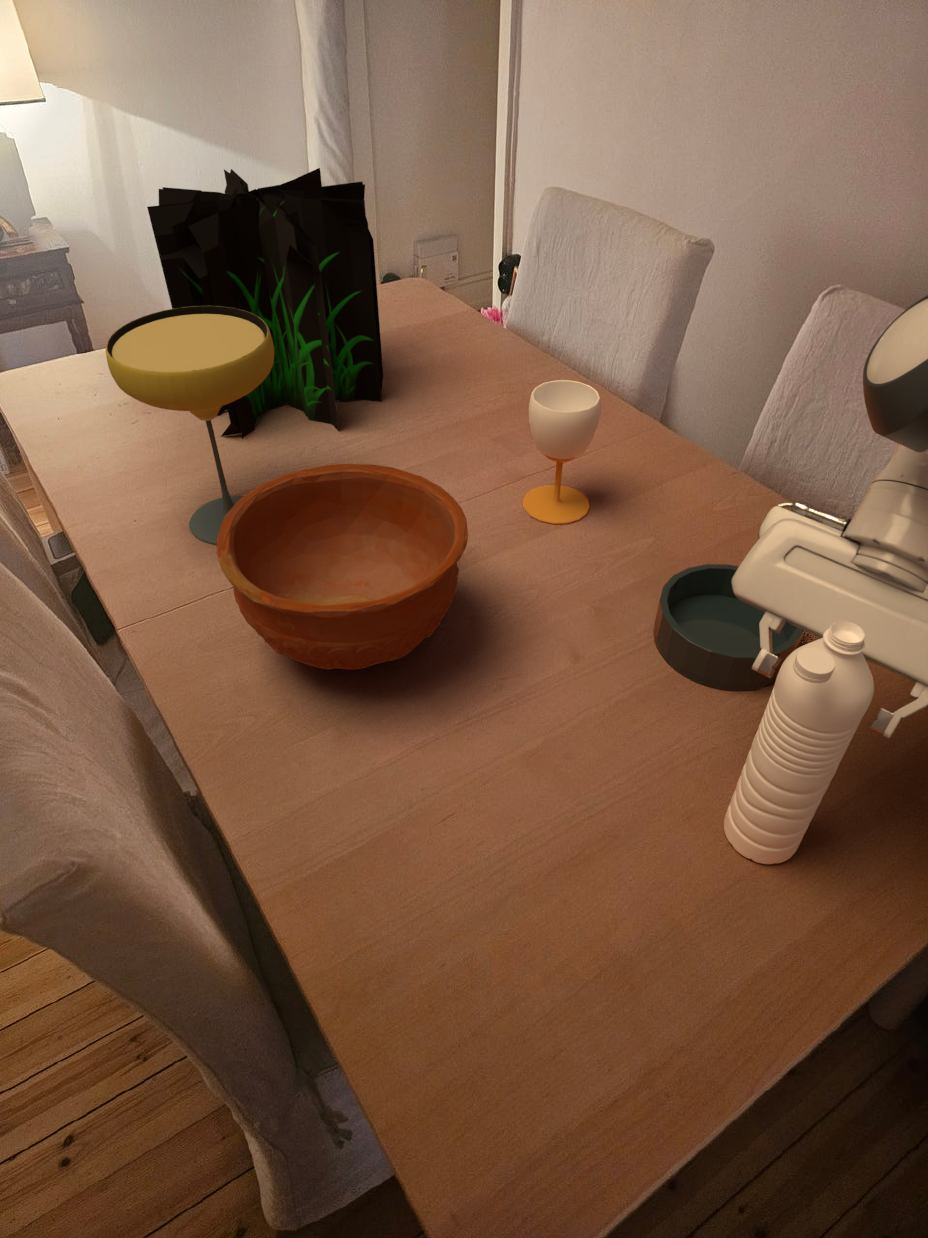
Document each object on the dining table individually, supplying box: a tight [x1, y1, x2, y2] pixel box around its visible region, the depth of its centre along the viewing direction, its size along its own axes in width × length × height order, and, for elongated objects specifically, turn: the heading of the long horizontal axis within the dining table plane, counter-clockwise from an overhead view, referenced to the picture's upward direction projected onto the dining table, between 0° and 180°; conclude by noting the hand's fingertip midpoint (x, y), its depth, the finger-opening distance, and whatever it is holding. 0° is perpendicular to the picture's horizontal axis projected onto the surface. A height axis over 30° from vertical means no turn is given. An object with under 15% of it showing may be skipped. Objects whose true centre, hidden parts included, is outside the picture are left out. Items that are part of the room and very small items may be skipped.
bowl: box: [216, 463, 469, 671], centre depth 87 cm, size 25×25×15 cm
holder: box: [653, 563, 805, 692], centre depth 90 cm, size 15×15×5 cm
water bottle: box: [723, 621, 875, 865], centre depth 64 cm, size 9×6×25 cm
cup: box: [521, 379, 602, 525], centre depth 105 cm, size 9×9×16 cm
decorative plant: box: [146, 167, 384, 440], centre depth 123 cm, size 29×30×30 cm
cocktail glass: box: [105, 306, 274, 545], centre depth 100 cm, size 18×18×25 cm
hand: (817, 702), depth 63 cm, fingers open, 8 cm apart
